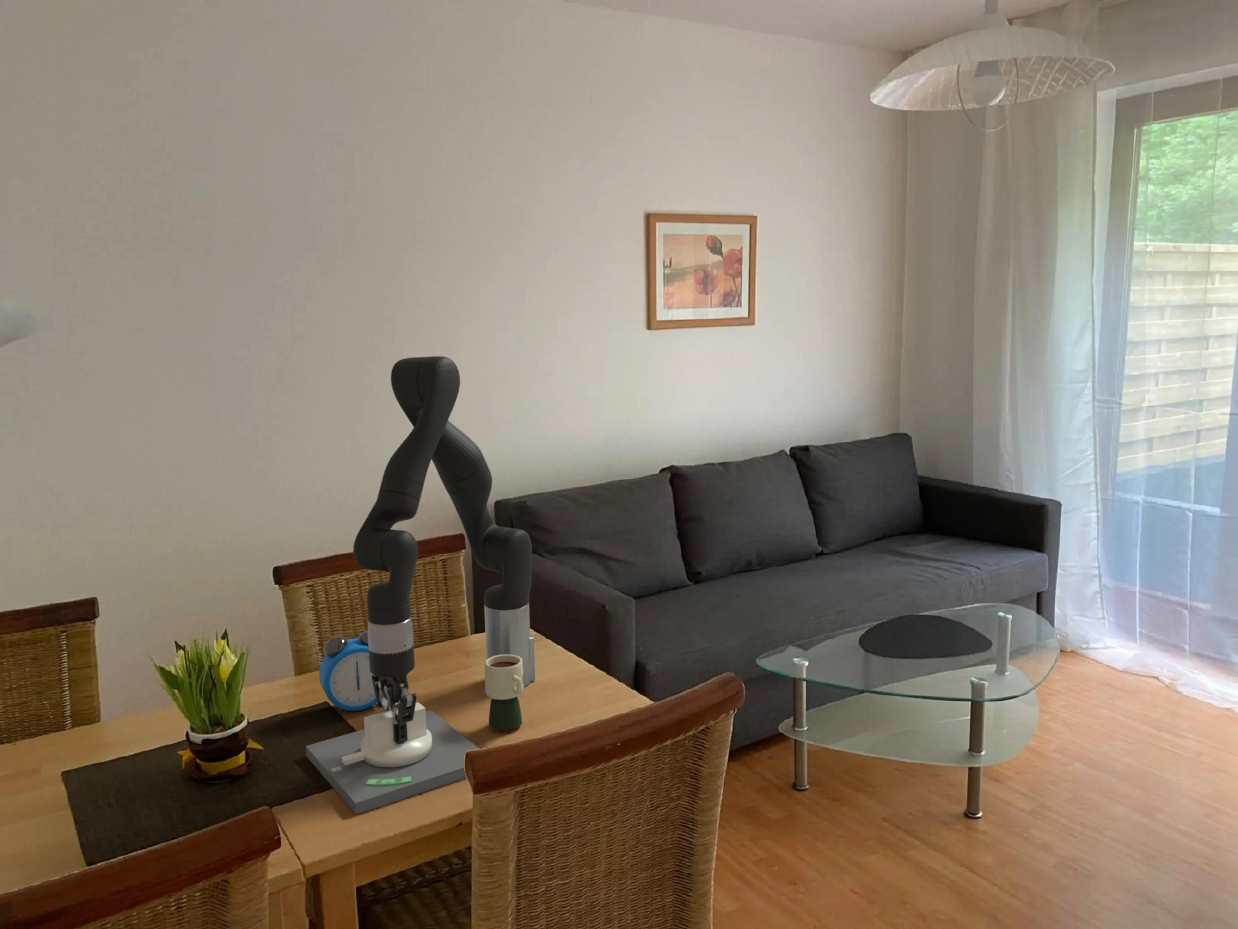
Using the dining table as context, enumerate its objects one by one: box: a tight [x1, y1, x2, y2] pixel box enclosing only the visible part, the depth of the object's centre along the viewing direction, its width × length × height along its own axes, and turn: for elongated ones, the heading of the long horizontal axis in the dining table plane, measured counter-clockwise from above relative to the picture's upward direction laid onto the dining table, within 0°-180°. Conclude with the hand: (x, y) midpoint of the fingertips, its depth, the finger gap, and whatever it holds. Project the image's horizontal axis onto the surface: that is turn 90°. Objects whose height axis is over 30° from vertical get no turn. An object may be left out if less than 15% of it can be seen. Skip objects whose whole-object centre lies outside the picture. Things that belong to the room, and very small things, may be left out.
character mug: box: [484, 655, 525, 731], centre depth 177 cm, size 11×7×13 cm, turn 40°
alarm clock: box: [318, 630, 378, 714], centre depth 186 cm, size 13×6×15 cm, turn 117°
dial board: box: [305, 710, 480, 815], centre depth 164 cm, size 24×24×2 cm
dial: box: [342, 701, 432, 767], centre depth 162 cm, size 16×12×7 cm
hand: (396, 737), depth 163 cm, fingers closed on dial, 3 cm apart
